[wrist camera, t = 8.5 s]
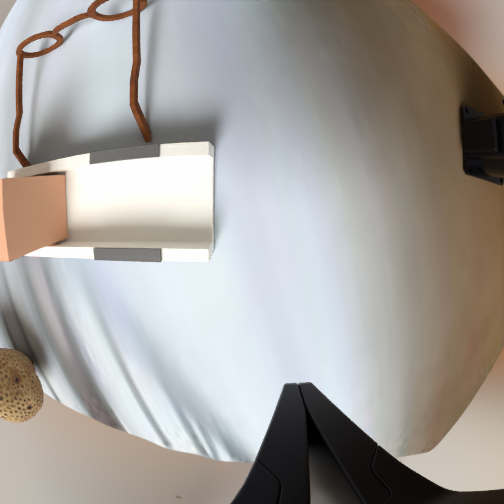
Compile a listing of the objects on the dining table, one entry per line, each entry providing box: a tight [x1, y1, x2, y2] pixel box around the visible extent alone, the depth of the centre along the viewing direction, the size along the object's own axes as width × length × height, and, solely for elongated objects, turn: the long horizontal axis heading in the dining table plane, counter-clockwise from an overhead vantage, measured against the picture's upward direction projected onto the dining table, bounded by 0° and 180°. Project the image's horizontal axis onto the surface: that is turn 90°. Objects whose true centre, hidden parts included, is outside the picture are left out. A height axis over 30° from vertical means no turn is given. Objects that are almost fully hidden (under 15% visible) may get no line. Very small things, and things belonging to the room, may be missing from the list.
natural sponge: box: [0, 348, 43, 422], centre depth 17 cm, size 9×9×10 cm
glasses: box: [13, 0, 151, 168], centre depth 13 cm, size 13×13×5 cm
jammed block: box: [0, 175, 69, 262], centre depth 14 cm, size 5×5×7 cm
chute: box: [8, 142, 214, 262], centre depth 16 cm, size 18×7×3 cm, turn 89°
